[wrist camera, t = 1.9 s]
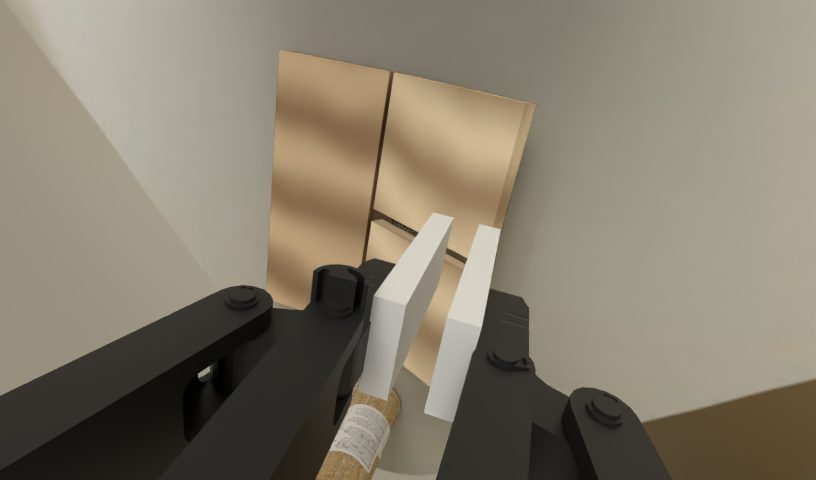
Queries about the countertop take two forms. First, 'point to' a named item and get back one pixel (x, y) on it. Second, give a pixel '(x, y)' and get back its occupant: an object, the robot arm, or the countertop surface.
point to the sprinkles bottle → (360, 438)
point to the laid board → (323, 169)
